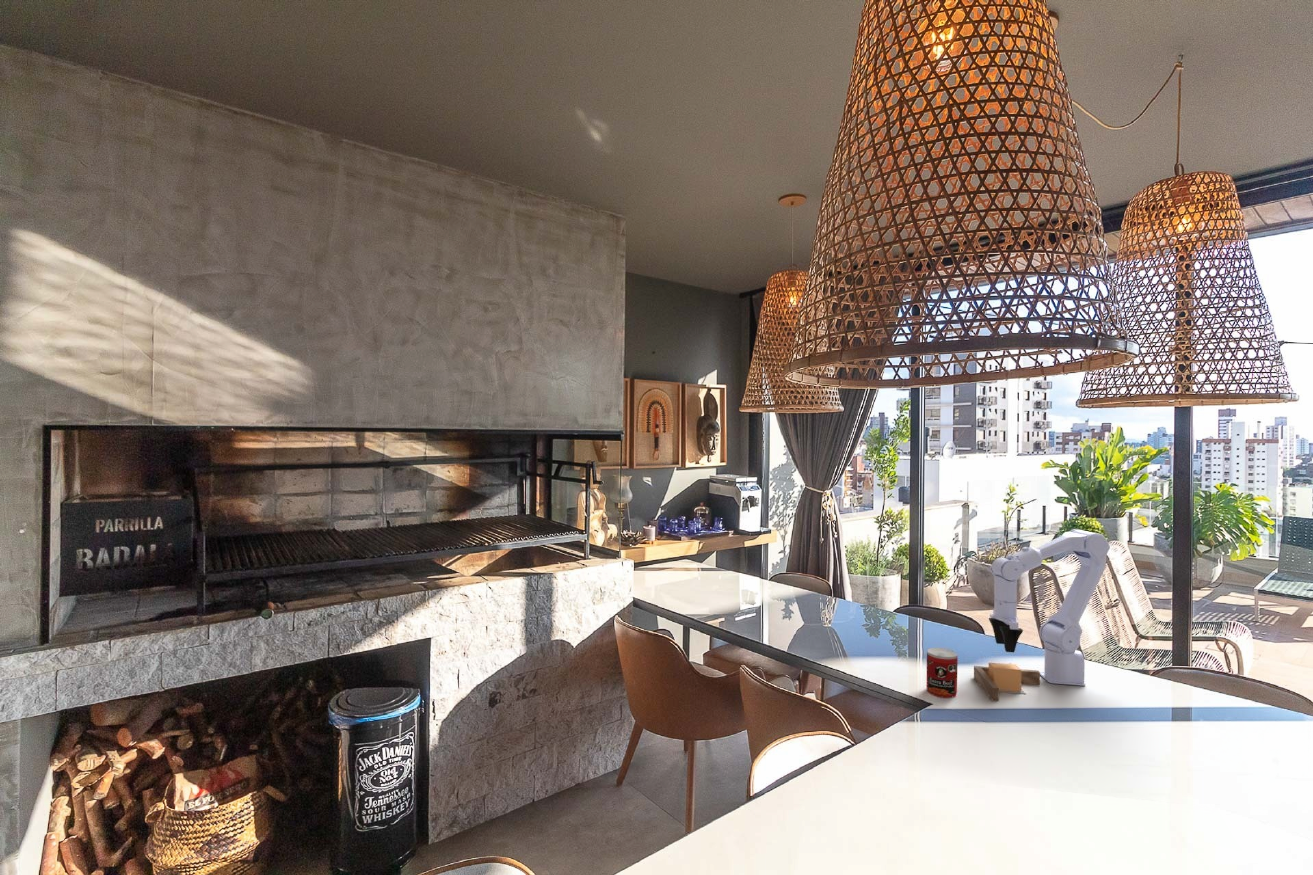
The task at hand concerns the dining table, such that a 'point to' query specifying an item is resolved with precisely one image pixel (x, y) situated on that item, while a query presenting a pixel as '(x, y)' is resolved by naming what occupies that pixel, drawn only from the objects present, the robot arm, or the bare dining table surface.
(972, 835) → the dining table surface
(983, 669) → the arena
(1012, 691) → the pad
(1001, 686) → the block
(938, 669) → the canned food
